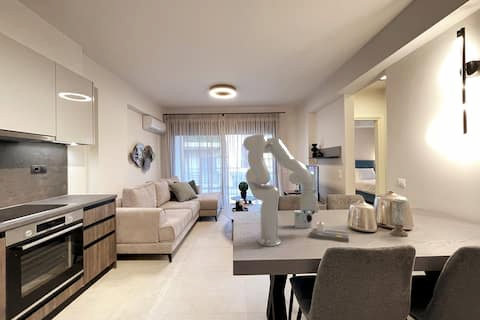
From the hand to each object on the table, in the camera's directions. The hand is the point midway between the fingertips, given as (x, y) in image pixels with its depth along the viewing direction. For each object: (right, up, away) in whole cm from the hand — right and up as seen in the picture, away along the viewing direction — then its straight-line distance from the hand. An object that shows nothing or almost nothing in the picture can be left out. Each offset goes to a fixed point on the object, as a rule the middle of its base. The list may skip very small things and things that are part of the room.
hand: (309, 221), depth 140 cm
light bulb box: (0, -8, +16) cm, 18 cm away
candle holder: (+53, -7, -3) cm, 54 cm away
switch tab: (+6, -5, -3) cm, 8 cm away
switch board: (+10, -7, -5) cm, 14 cm away
